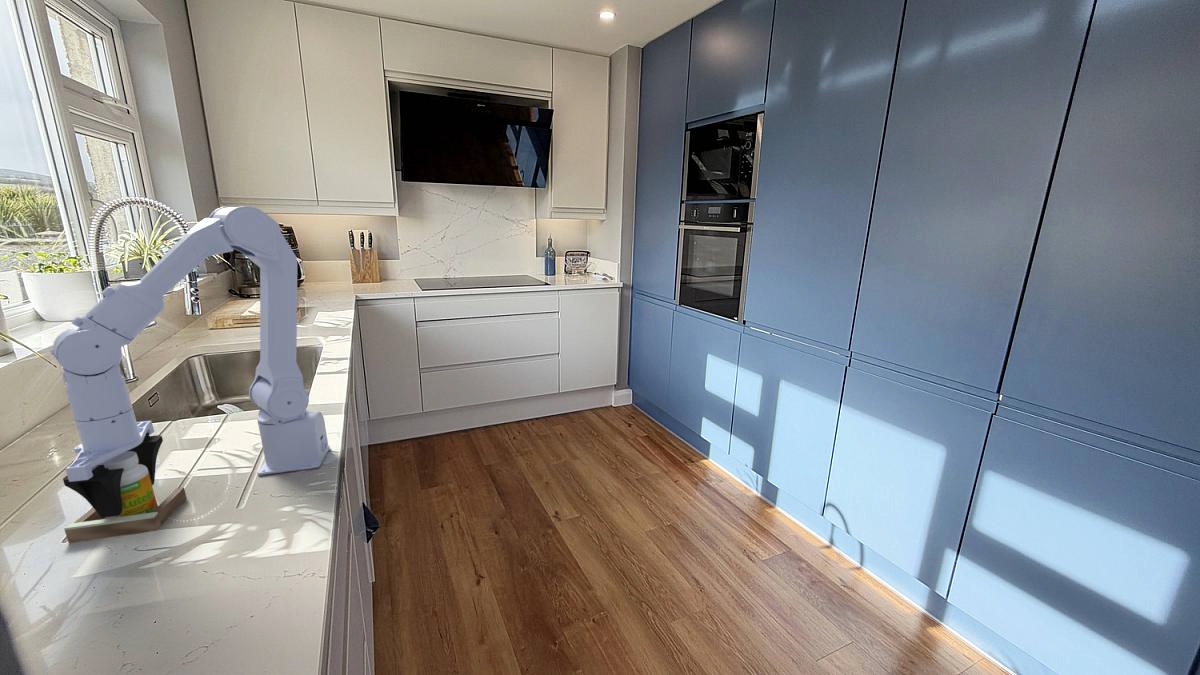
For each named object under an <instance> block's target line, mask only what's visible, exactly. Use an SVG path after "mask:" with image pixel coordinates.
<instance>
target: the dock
mask: <svg viewBox="0 0 1200 675" xmlns="http://www.w3.org/2000/svg"><path fill="white" fill-rule="evenodd" d="M187 500H188V497H187V494H186V489H185V487H178V488H175V489H174V490H173V491H172V492H171V493H170V494H169V495H168V496H167V497H166V498H165V499H164V500H163V501H162V502H161V503H160V504H159V505H157V506H158V507H157V508H156V509H155V510H154V511H153V512H152V513H145V514H138V515H130V516H123V517H116V518H108V519H107V518H106V517H104V518H101V516H100V515H99V514H98V513H97V512H96V510H95V509H94V508H93V507H91V508H90V509H89V510H87V512H86V513H84V514H83V515H81V517H79V518H78V519H77V520H75V521H74V522H73V523H69V524H67V525H66V526H65V527H64V532H65V535H66V539H67V542H68V543H69V544H72V543H77V542H78V543H79V542H86V541H91V540H98V539H107V538H111V537H112V538H114V537H119V536H126V535H134V534H140V533H147V532H154V531H158V530H159V529H160V528H161V527H162V526H163V525H164V524H165V523H166V522H167V520H169V518H170V517H171V516H172V515H173V514H174V513H175V512H176V511H177V510H178V509H179V507H181V505H183V504H184V502H185V501H187Z"/></svg>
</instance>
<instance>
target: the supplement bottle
mask: <svg viewBox="0 0 1200 675" xmlns="http://www.w3.org/2000/svg"><path fill="white" fill-rule="evenodd" d="M138 462H139V461H138V456H137V454H136V452H133V451H127V452H124V453H122V454H120V455H118V456H115V457H114V458H113V459H111V460H110V461H108V462H107V463H106V464H104V466H105V468H107V467H108V469H109V470H111V469H120V468H124V470H123V473H122V477H121V483H120V493H121V499H122V513H121V514H120V515H118V516H112V517H106V518H105V519H108V518H116V517H123V516H130V515H138V514H145V513H152V512H153V511H154V510H155V509H156V508H157V507H158V506H159V505H158V503H157V498H156V495H155V493H154V492H155V491H154V486H153V485H152V483H151V479H150V476H149V472H148V469H147V467H146V466H144V465H142V464H138Z"/></svg>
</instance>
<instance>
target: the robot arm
mask: <svg viewBox="0 0 1200 675" xmlns="http://www.w3.org/2000/svg"><path fill="white" fill-rule="evenodd" d="M234 250H236V251H238V252H239V253H242V254H243V255H244V256H245V257H246V258H247V259H248V260H250V261H251V262H252V263H254V264H255V265H256V266H257V267H258V268H259V273H260V274H259V278H260V279H259V280H260V282H259V285H260V286H259V287H260V291H259V292H260V295H259V296H260V297H259V300H260V302H259V305H260V306H259V310H260V311H259V312H260V313H259V315H260V316H259V323H260V329H259V331H260V332H259V335H260V337H259V340H260V344H259V348H260V349H259V350H260V351H259V352H260V353H259V354H260V355H259V356H260V358H259V362H258V364H257V366H256V368H255V376H254V379H253V381H252V383H251V385H250V387H249V389H248V396H249V399H250V402H252V404H253V405H254V406H256V407H258V408H259V410H258V414H257V416H256V420H257V425H258V430H259V435H260V439H261V445H262V449H263V455H264V460H265V462H264V463H263V464H262V466H261V467H260V468H259V470H257V472H256V474H257V476H263V475H264V476H265V475H272V474H277V473H278V474H279V473H287V472H294V471H301V470H302V471H304V470H310V469H316V468H317V469H318V468H319V467H320V466H321V465H322V462H323V461H324V459H325V458H326V455H327V454H328V452H329V450H330V447H331V446H330V445H329V442H328V435H327V430H326V423H325V418H324V415H323V413H322V412H320V411H310V410H307V408H308V406H309V403H310V395H309V393H308V392H307V390H306V389H305V386H304V377H303V374H302V371H301V369H300V367H299V365H298V363H297V349H298V348H297V339H298V338H297V335H298V334H297V333H298V328H297V327H298V257H297V256H296V254H295V253H294V251H293V249H292V247H291V246H290V244H289V243H288V241H287V240H286V238H285V236H284V234H283V233H282V231H281V226H280V224H279V222H277V221H276V220H275V219H273V218H272V217H271V216H270V215H268V214H267V213H265V212H264V211H263V210H261V209H260V208H257V207H255V206H250V205H241V206H229V205H228V206H226V205H225V206H221V207H218V208H216V209H215V210H213V211H212V212H211V214H209V217H205V218H203V219H202V220H200V221H199V222H197V223H196V224H195V225H194V226H193V227H192V228H190V229H189V230H188V231H187V232H186V233H185V234H184V235H183V236H182V237H181V238H180V239H179V240H178V241H177V242H175V244H174V245H173V246H172V247H171V248H170V249H169V250H168V251H167V252H166V253H165V254H164V255H163V256H162V257H161V258H160V259H159V260H158V261H157V262H156V263H155V264H154V265H153V266H152V267H151V268H150V269H149V271H147V273H145V275H143V276H142V278H140V280H137V281H130V282H129V281H128V282H119V284H117V285H116V286H115V287H114V288H113V287H110V286H107V287H105V289H103V290H102V291H101V292H100V294H101V295H102V296H103V298H102V299H101V300H100V301H98V303H96V304H95V305H94V306H92V308H91V309H90V310H89V311H88V312H86V314H85V315H84V316H82V317H79V316H75V317H74V319H72V320H71V321H70V322H71V324H72V325H74V327H73V328H68V329H66V330H64V331H62V332H61V333H59V335H57V337H56V338H55V339H54V342H53V344H52V345H53V346H52V350H51V354H52V356H53V357H54V358H55V359H56V361H57V362H58V364H59V365H60V366H61V367H62V371H63V372H62V375H61V376H62V379H63V381H64V383H65V384H66V385H65V388H64V390H65V392H66V396H67V399H68V402H69V406H70V409H71V412H72V415H73V419H74V421H75V424H76V425H75V426H76V429H77V432H78V435H79V438H80V441H81V442H80V444H78V445H77V446H76V447H74V449H73V450H74V453H75V454H77V455H76V457H75V459H74V460H73V462H72V463H70V464H69V465H68V466H67V467H65V472H66V473H65V474H66V475H65V476H64V477H63V478H62V482H63V484H64V486H65V487H67V488H69V489H70V490H73V491H75V493H77V494H79V495H80V496H81V497H83V498H84V499H85V500H86V501H87V502H88V503H89V505H90V506H91V508H94V509H95V510H96V512H97V513H98V514H99V515H100V516H101V518H104V517H112V516H118V515H120V514H121V513H122V499H121V493H120V483H121V477H122V473H123V470H124V468H120V469H111V470H109V469H108V467H107V468H105V466H104V464H106V463H107V462H108V461H110V460H111V459H113V458H114V457H115V456H118V455H120V454H122V453H124V452H127V451H133V452H136V454H137V456H138V461H139V462H138V464H142V465H144V466H146V467H147V469H148V472H149V476H150V479H151V483H152V486H154V485H155V481H156V480H155V479H156V468H157V467H156V465H157V458H158V454H159V451H160V448H161V447H162V446H161V445H162V443H163V441H164V439H163V436H162V435H159V434H157V435H152V434H153V433H155V429H154V426H153V422H152V420H144V421H137V419H136V416H135V412H134V408H133V405H132V404H133V403H132V400H131V396H130V393H129V390H128V386H127V382H126V378H125V377H124V375H122V373H121V368H120V365H119V363H120V361H121V359H122V355H123V353H122V352H123V350H122V347H124V346H127V345H129V344H131V343H132V342H133V341H134V340H135V339H136V338H137V337H138V336H139V335H140V334H141V333H142V332H143V331H144V330H145V329H146V328H147V327H148V326H149V325H150V324H151V323H152V322H153V321H154V320H156V318H157V317H158V316H159V315H160V314H161V313H162V312H164V310H165V309H166V306H165V302H164V296H165V295H167V293H169V291H171V290H172V289H173V288H174V287H176V285H178V283H179V282H181V281H182V280H183V279H184V278H185V277H187V276H188V275H189V274H190V273H191V272H192V271H193V270H194V269H195V268H197V267H198V266H199V265H200V264H201V263H202V262H203V261H205V260H206V259H207V258H209V257H211V256H217V255H220V254H225V253H232V252H234Z"/></svg>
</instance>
